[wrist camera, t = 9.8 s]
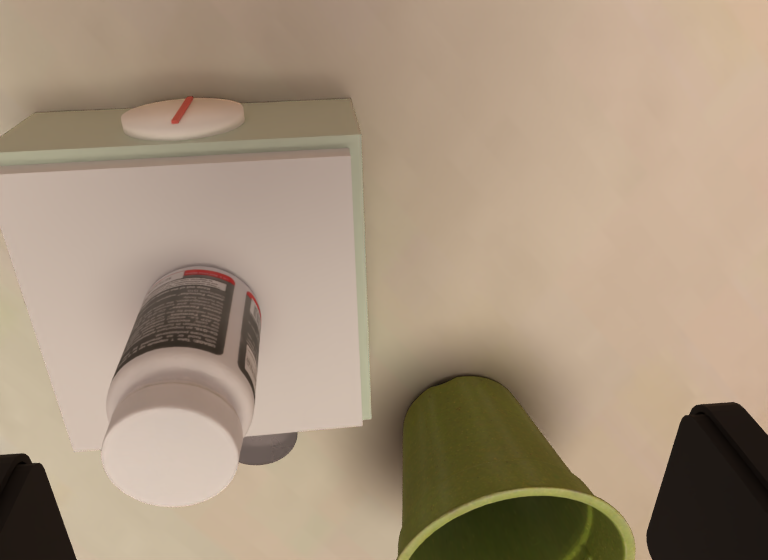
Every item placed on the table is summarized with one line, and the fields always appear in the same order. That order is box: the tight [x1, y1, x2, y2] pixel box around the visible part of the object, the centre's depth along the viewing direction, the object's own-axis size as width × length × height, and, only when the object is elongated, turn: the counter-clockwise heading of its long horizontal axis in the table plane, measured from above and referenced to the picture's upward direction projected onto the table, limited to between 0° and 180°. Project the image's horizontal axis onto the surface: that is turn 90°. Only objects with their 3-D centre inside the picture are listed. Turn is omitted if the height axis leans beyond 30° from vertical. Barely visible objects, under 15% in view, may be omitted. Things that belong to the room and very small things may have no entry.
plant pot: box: [396, 376, 635, 560], centre depth 35 cm, size 12×12×11 cm
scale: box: [0, 96, 372, 452], centre depth 30 cm, size 15×14×7 cm
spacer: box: [239, 432, 297, 465], centre depth 37 cm, size 4×4×3 cm
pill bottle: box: [101, 266, 261, 507], centre depth 23 cm, size 5×5×8 cm
